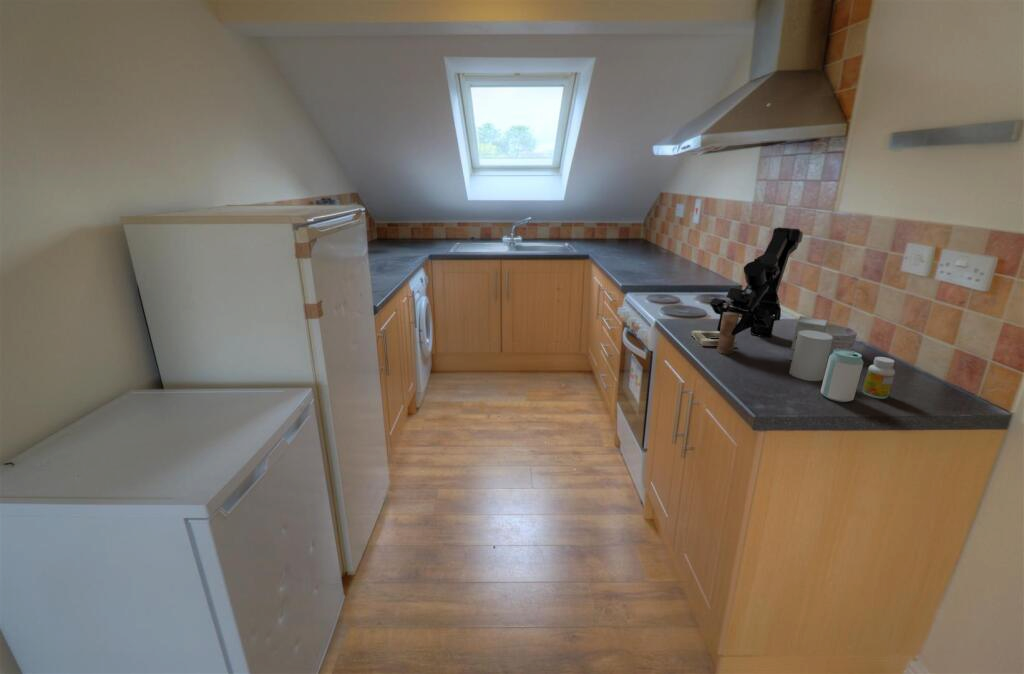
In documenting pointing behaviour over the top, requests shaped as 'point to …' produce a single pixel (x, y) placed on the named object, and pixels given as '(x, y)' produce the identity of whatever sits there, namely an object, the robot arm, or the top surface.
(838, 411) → the top surface
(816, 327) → the supplement box
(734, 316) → the cherry wood peg
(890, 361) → the supplement bottle
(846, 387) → the can
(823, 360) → the cup
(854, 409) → the top surface
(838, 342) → the paper bowls
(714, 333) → the birch hole board
